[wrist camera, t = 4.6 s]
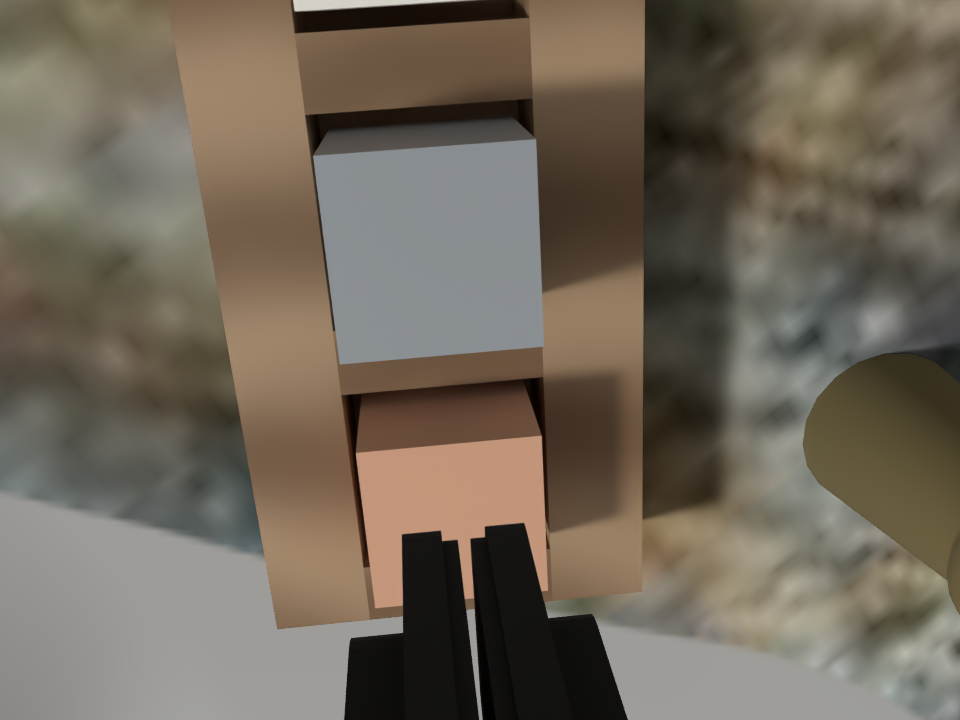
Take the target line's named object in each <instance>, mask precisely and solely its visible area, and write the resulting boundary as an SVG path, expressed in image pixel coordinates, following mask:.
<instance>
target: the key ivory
mask: <svg viewBox="0 0 960 720" xmlns="http://www.w3.org/2000/svg"><path fill="white" fill-rule="evenodd" d="M462 1H477V0H293V3H294V10H295V11H325V10H341V9H356V8H371V7H386V6H401V5H416V4H431V3H447V2H462Z"/></svg>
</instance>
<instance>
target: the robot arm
mask: <svg viewBox="0 0 960 720" xmlns="http://www.w3.org/2000/svg"><path fill="white" fill-rule="evenodd" d="M470 545H471V560H472V575H473V591H474V606H475V619H476V620H475V621H476V635H477V649H478V650H477V651H478V666H479V681H480V696H481V707H482V717H483V720H628V719H627V716H626V713H625V710H624V707H623V704H622V700H621V697H620V695H619V691H618V688H617V685H616V682H615V679H614V676H613V673H612V670H611V666H610V663H609V660H608V657H607V654H606V651H605V647H604V644H603V641H602V638H601V635H600V632H599V629H598V626H597V623H596V621H595V618H594V616H593V615H592V614H586V615H577V616H567V617H557V618H548V616H547V611H546V607H545V603H544V599H543V595H542V591H541V587H540V583H539V579H538V575H537V571H536V567H535V563H534V559H533V555H532V551H531V547H530V542H529V538H528V534H527V530H526V527H525V524H524V523H515V524H505V525H494V526H485V537H480V538H470ZM402 582H403V633H399V634H388V635H378V636H368V637H359V638H351V640H350V645H349V658H348V673H347V687H346V703H345V718H344V720H479V715H478V706H477V698H476V689H475V681H474V673H473V664H472V656H471V647H470V638H469V630H468V621H467V613H466V604H465V596H464V588H463V579H462V571H461V562H460V554H459V545H458V540H449V541H442V534H441V531H430V532H419V533H409V534H402Z"/></svg>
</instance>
